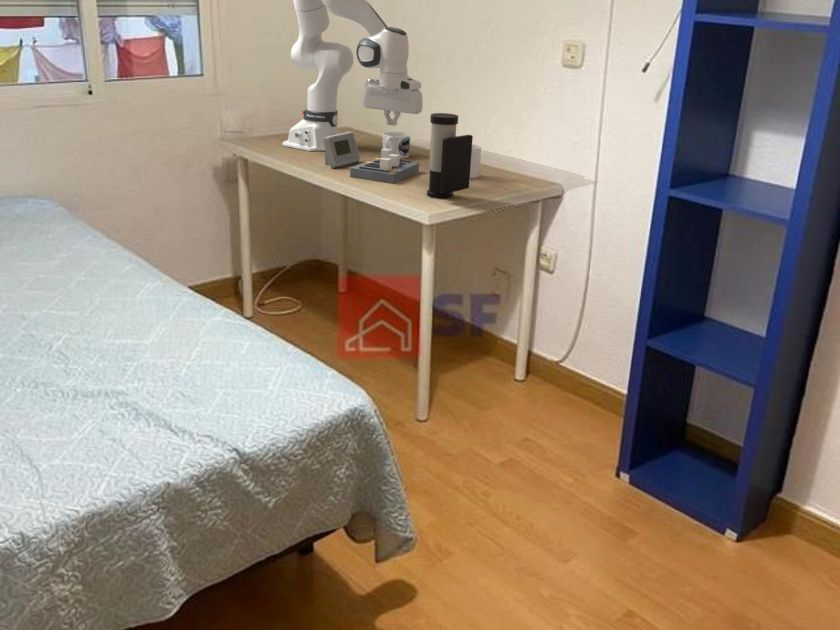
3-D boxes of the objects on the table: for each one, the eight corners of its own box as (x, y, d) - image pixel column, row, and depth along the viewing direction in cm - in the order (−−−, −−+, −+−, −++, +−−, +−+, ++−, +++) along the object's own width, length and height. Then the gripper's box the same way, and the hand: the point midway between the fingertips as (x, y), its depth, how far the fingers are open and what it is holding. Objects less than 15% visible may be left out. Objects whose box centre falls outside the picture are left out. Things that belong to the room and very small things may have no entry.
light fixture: (442, 189, 262) (447, 111, 253) (468, 196, 256) (474, 116, 246) (416, 195, 254) (420, 114, 245) (443, 202, 247) (448, 120, 238)
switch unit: (350, 176, 273) (350, 166, 271) (377, 165, 291) (378, 155, 289) (393, 183, 267) (393, 172, 266) (418, 171, 285) (419, 161, 284)
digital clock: (331, 169, 282) (332, 138, 278) (315, 164, 287) (315, 134, 283) (366, 163, 293) (367, 134, 289) (349, 159, 298) (350, 130, 294)
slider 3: (387, 165, 276) (387, 155, 274) (391, 164, 278) (391, 153, 277) (395, 166, 275) (395, 156, 273) (399, 165, 277) (399, 154, 276)
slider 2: (379, 169, 270) (379, 159, 268) (383, 167, 272) (383, 157, 271) (387, 170, 268) (388, 160, 267) (391, 169, 271) (392, 158, 270)
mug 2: (442, 173, 284) (443, 144, 280) (457, 170, 290) (459, 141, 286) (468, 180, 277) (471, 149, 273) (483, 176, 282) (486, 147, 278)
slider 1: (380, 159, 284) (381, 149, 282) (384, 158, 286) (384, 148, 285) (388, 160, 283) (388, 150, 281) (392, 159, 285) (392, 149, 284)
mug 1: (389, 151, 314) (389, 130, 311) (414, 155, 310) (415, 133, 307) (373, 157, 303) (374, 135, 300) (399, 161, 299) (400, 139, 296)
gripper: (360, 78, 263) (359, 122, 268) (417, 85, 255) (414, 129, 260) (370, 77, 268) (368, 120, 273) (425, 83, 260) (423, 127, 265)
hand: (391, 125), depth 267 cm, fingers closed
